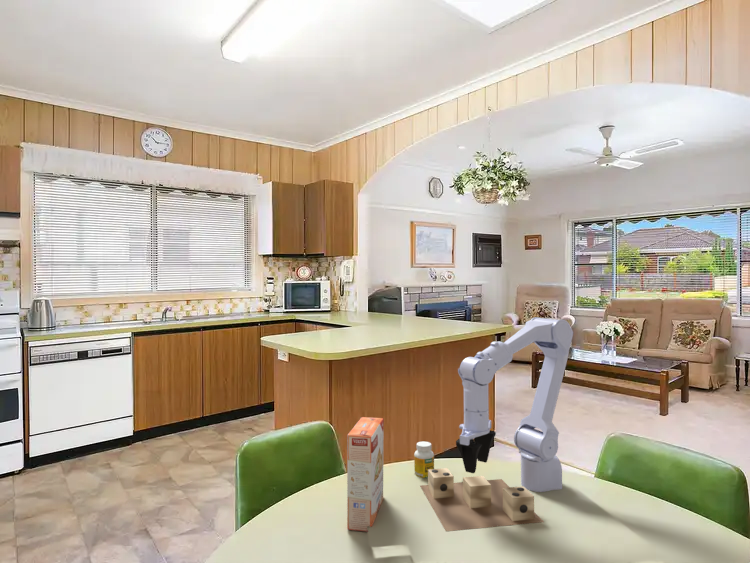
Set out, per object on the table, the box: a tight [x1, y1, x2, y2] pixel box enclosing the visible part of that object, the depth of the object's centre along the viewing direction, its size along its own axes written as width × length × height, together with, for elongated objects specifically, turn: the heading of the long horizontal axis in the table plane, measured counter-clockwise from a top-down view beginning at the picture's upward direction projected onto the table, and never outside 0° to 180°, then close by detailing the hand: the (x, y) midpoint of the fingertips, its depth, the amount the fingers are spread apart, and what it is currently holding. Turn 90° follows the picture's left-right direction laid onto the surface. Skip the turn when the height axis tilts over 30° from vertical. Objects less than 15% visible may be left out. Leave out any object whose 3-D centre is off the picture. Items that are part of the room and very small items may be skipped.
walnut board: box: [419, 478, 545, 532], centre depth 111 cm, size 22×22×2 cm
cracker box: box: [346, 416, 385, 533], centre depth 108 cm, size 14×6×21 cm, turn 168°
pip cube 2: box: [503, 485, 535, 521], centre depth 105 cm, size 5×5×5 cm
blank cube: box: [462, 475, 491, 508], centre depth 111 cm, size 5×5×5 cm
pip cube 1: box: [427, 467, 455, 499], centre depth 116 cm, size 5×5×5 cm
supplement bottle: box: [413, 441, 435, 479], centre depth 127 cm, size 5×5×10 cm
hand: (476, 466), depth 111 cm, fingers open, 7 cm apart
